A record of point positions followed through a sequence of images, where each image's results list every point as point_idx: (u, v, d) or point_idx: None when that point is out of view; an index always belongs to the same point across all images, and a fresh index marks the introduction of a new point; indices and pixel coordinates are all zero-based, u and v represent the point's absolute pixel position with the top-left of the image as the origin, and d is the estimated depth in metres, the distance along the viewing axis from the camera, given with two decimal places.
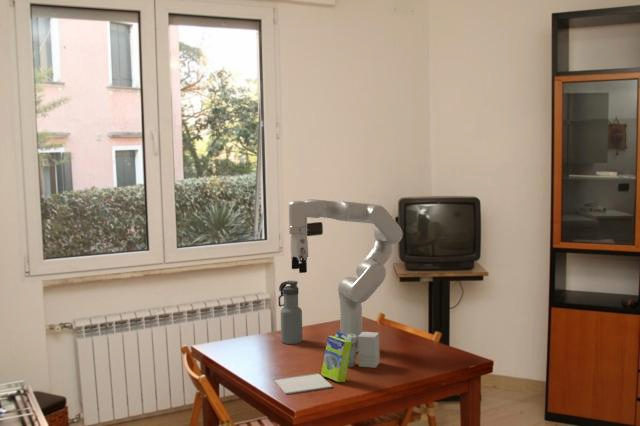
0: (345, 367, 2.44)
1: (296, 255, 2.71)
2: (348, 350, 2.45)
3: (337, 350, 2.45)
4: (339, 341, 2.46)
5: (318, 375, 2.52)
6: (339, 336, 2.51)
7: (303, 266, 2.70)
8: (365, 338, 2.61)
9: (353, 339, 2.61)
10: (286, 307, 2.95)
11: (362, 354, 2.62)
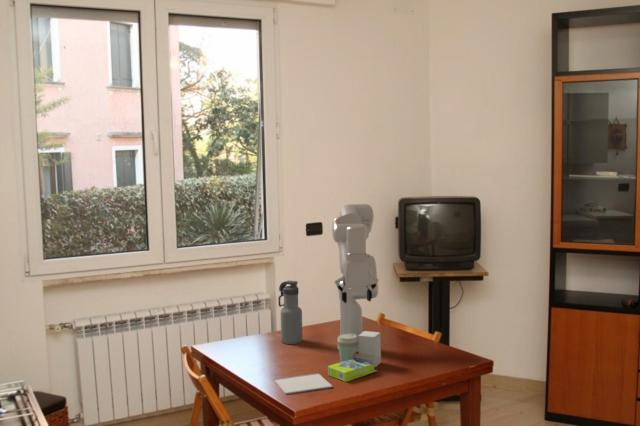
0: (356, 375, 2.48)
1: (365, 283, 2.51)
2: (368, 371, 2.52)
3: (361, 363, 2.54)
4: None
5: (318, 375, 2.52)
6: None
7: None
8: (365, 338, 2.62)
9: (353, 339, 2.61)
10: (286, 307, 2.95)
11: (362, 353, 2.63)
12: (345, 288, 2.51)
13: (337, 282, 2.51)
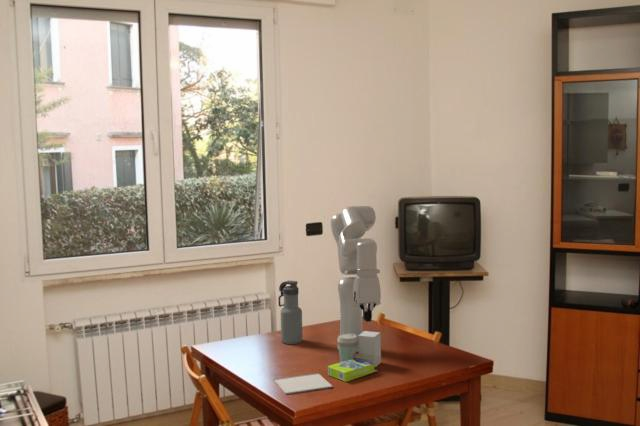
0: (356, 375, 2.48)
1: (376, 299, 2.49)
2: (368, 371, 2.52)
3: (361, 363, 2.54)
4: None
5: (318, 375, 2.52)
6: None
7: None
8: (365, 338, 2.62)
9: (353, 339, 2.61)
10: (286, 307, 2.95)
11: (362, 353, 2.63)
12: (365, 306, 2.48)
13: (356, 304, 2.48)
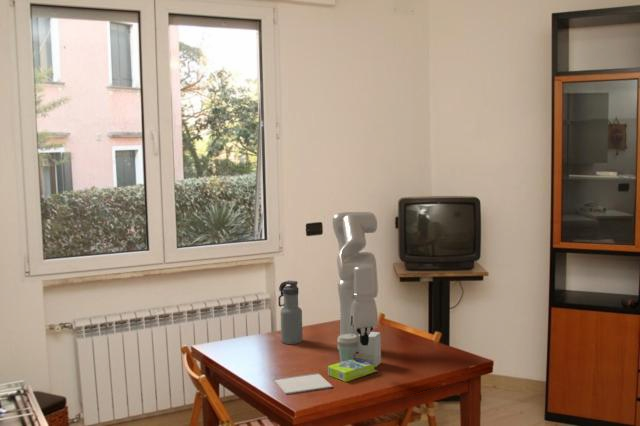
0: (356, 375, 2.48)
1: (373, 323, 2.50)
2: (368, 371, 2.52)
3: (361, 363, 2.54)
4: None
5: (318, 375, 2.52)
6: None
7: None
8: None
9: (353, 339, 2.61)
10: (286, 307, 2.95)
11: (362, 353, 2.63)
12: (362, 331, 2.49)
13: (353, 329, 2.48)
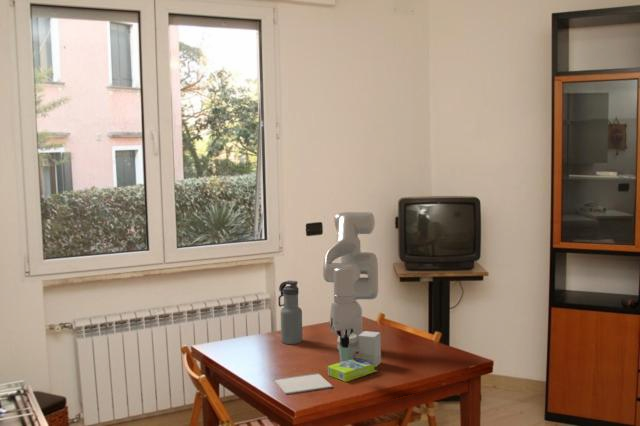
0: (356, 375, 2.48)
1: (353, 326, 2.47)
2: (368, 371, 2.52)
3: (361, 363, 2.54)
4: None
5: (318, 375, 2.52)
6: None
7: None
8: (365, 338, 2.62)
9: (353, 339, 2.61)
10: (286, 307, 2.95)
11: (362, 353, 2.63)
12: (342, 333, 2.46)
13: (333, 331, 2.46)
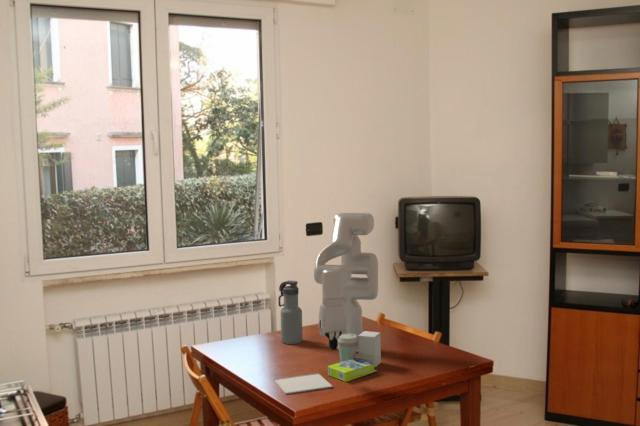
0: (356, 375, 2.48)
1: (342, 328, 2.45)
2: (368, 371, 2.52)
3: (361, 363, 2.54)
4: None
5: (318, 375, 2.52)
6: None
7: None
8: (365, 338, 2.62)
9: (353, 339, 2.61)
10: (286, 307, 2.95)
11: (362, 353, 2.63)
12: (330, 335, 2.45)
13: (322, 333, 2.44)
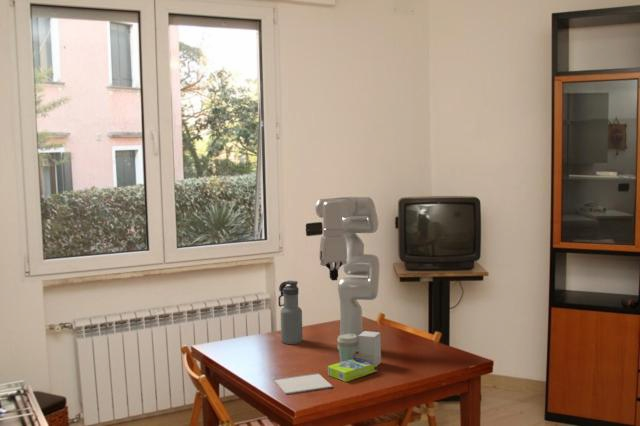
0: (356, 375, 2.48)
1: (342, 258, 2.52)
2: (368, 371, 2.52)
3: (361, 363, 2.54)
4: None
5: (318, 375, 2.52)
6: None
7: None
8: (365, 338, 2.62)
9: (353, 339, 2.61)
10: (286, 307, 2.95)
11: (362, 353, 2.63)
12: (331, 265, 2.51)
13: (323, 263, 2.51)
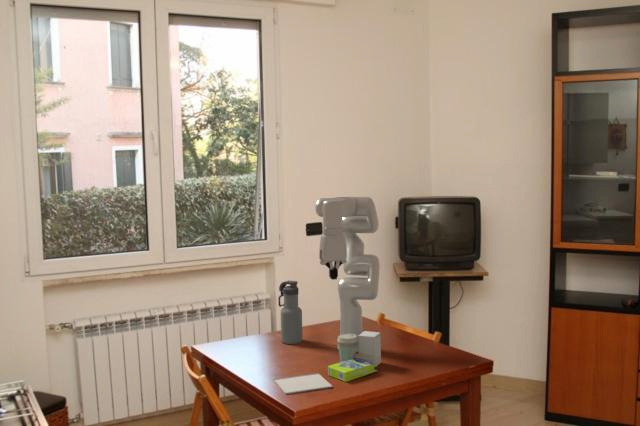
0: (356, 375, 2.48)
1: (342, 257, 2.52)
2: (368, 371, 2.52)
3: (361, 363, 2.54)
4: None
5: (318, 375, 2.52)
6: None
7: None
8: (365, 338, 2.62)
9: (353, 339, 2.61)
10: (286, 307, 2.95)
11: (362, 353, 2.63)
12: (331, 265, 2.51)
13: (322, 262, 2.51)
